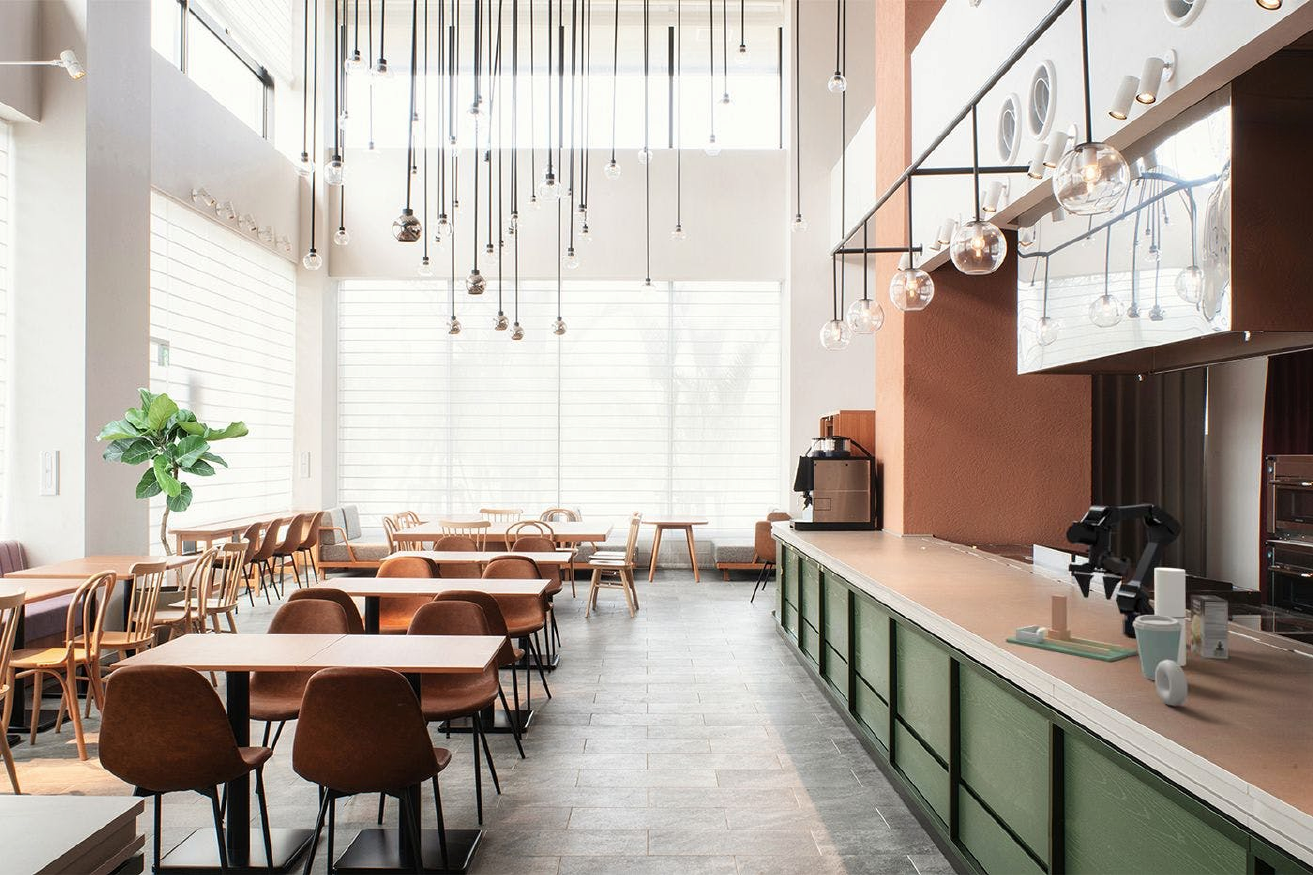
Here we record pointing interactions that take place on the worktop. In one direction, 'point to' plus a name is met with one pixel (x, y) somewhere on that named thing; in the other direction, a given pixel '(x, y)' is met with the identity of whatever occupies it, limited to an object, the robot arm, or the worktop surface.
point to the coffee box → (1209, 626)
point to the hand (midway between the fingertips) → (1097, 598)
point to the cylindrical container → (1172, 601)
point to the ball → (1044, 632)
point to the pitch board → (1080, 648)
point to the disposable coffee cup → (1156, 641)
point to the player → (1059, 619)
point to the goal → (1030, 634)
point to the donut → (1171, 683)
